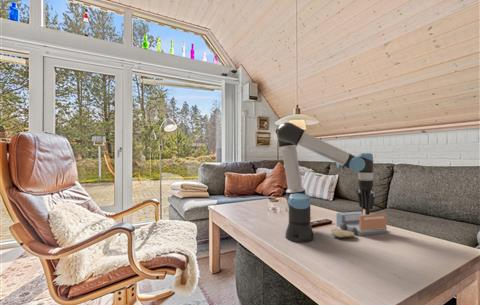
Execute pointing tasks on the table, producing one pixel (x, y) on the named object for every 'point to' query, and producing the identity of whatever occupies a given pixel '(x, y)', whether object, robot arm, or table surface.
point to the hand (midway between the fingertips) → (365, 220)
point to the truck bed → (354, 224)
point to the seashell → (342, 233)
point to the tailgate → (372, 221)
